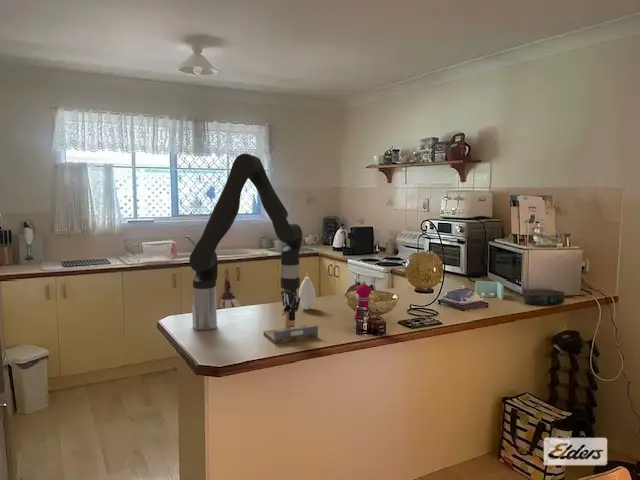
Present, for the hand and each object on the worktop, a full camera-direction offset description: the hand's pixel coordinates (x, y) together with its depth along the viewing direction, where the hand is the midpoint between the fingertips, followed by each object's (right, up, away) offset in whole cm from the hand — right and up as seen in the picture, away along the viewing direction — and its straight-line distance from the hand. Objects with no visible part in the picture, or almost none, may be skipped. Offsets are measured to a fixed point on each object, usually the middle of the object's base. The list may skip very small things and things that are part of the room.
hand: (290, 318), depth 189 cm
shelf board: (0, -7, +1) cm, 7 cm away
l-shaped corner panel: (+101, 0, +68) cm, 121 cm away
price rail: (+3, -6, -5) cm, 8 cm away
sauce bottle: (+5, -2, +40) cm, 41 cm away
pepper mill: (+29, -6, +11) cm, 32 cm away
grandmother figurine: (0, -3, 0) cm, 3 cm away
